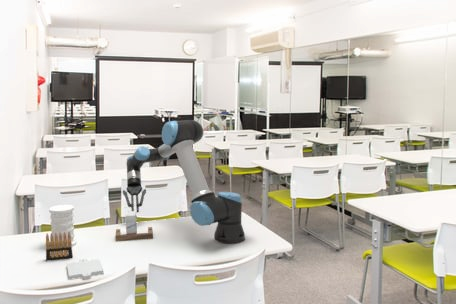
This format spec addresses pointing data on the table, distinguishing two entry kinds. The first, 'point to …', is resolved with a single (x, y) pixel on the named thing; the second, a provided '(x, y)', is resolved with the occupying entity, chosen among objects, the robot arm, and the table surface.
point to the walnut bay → (134, 235)
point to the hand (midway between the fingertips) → (135, 217)
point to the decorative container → (62, 221)
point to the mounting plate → (84, 268)
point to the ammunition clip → (58, 247)
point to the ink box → (131, 222)
